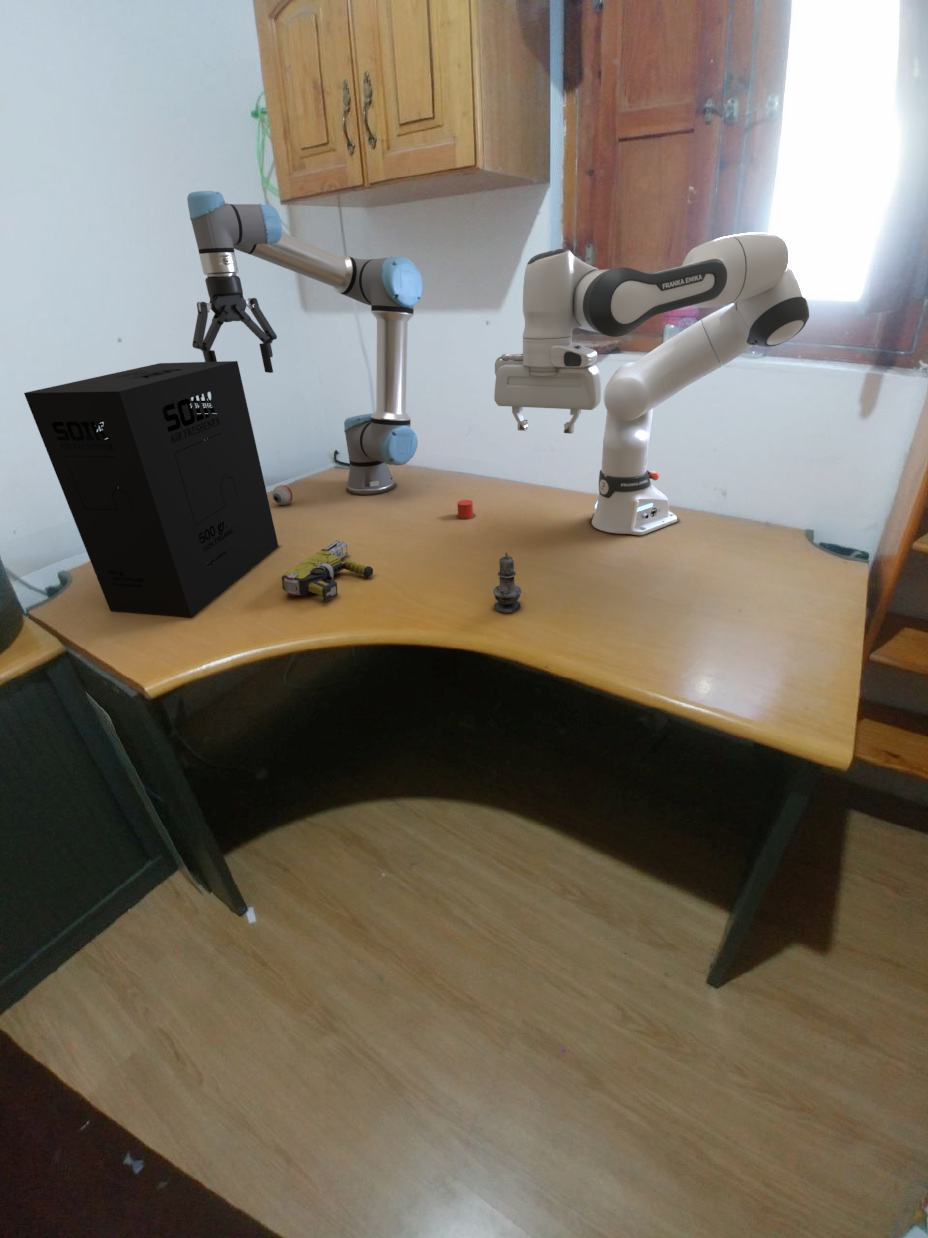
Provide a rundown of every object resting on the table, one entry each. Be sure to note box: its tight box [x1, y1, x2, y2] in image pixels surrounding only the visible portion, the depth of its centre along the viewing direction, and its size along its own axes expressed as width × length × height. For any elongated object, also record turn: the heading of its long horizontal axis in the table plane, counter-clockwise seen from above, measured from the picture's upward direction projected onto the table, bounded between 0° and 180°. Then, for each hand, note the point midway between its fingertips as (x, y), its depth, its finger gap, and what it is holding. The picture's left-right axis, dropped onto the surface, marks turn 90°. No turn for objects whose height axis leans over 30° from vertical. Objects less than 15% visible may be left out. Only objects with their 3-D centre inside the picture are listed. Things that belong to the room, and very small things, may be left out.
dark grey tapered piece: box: [492, 552, 523, 613], centre depth 120 cm, size 6×6×12 cm
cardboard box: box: [23, 360, 279, 618], centre depth 133 cm, size 38×20×45 cm, turn 167°
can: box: [456, 499, 474, 520], centre depth 169 cm, size 4×4×4 cm
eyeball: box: [271, 484, 294, 506], centre depth 185 cm, size 6×6×6 cm
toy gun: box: [281, 539, 374, 603], centre depth 138 cm, size 5×24×15 cm
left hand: (244, 376), depth 146 cm, fingers open, 13 cm apart
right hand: (545, 431), depth 117 cm, fingers open, 8 cm apart
